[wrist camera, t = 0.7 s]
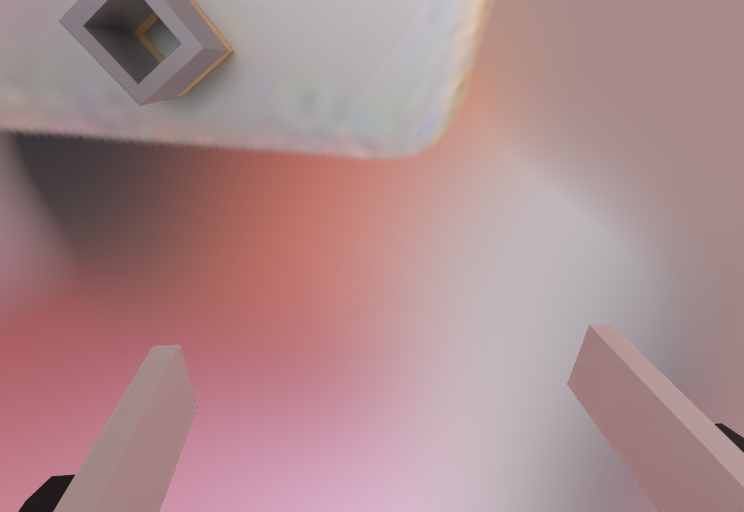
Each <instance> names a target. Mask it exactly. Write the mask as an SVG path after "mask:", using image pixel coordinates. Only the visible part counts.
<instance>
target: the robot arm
mask: <svg viewBox="0 0 744 512" xmlns="http://www.w3.org/2000/svg"><path fill="white" fill-rule="evenodd" d="M567 385H568V386H569V387H570V389H571V390H572V392H573V393H574V395H575V396H576V397H577V399H578V400H579V401H580V403H581V404H582V406H583V407H584V408H585V410H586V411H587V413H588V414H589V416H590V417H591V418H592V420H593V421H594V423H595V424H596V425H597V427H598V428H599V429H600V431H601V432H602V434H603V435H604V436H605V438H606V439H607V441H608V442H609V443H610V445H611V446H612V448H613V449H614V450H615V452H616V453H617V455H618V456H619V457H620V459H621V460H622V462H623V463H624V464H625V466H626V467H627V469H628V470H629V471H630V473H631V474H632V476H633V477H634V478H635V480H636V481H637V483H638V484H639V485H640V487H641V488H642V490H643V491H644V492H645V494H646V495H647V496H648V498H649V499H650V501H651V502H652V503H653V505H654V506H655V508H656V509H657V510H658V512H744V438H743V437H741V436H740V435H738V434H737V433H735V432H734V431H732V430H731V429H729V428H728V427H726V426H724V425H723V424H721V423H720V424H713V423H712V422H711V421H710V420H709V419H708V418H707V417H706V416H705V415H704V414H703V413H702V412H701V411H700V410H699V409H698V408H697V407H696V406H695V405H694V404H693V403H692V402H691V401H689V399H688V398H687V397H685V396H684V395H683V394H682V393H681V392H680V391H679V390H678V389H677V388H676V387H675V386H674V385H673V384H672V383H671V382H670V381H669V380H668V379H667V378H666V377H665V376H664V375H663V374H662V373H661V372H660V371H659V370H658V369H656V368H655V367H654V366H653V365H652V364H651V363H650V362H649V361H648V360H647V359H646V358H645V357H644V356H643V355H642V354H641V353H640V352H639V351H638V350H637V349H636V348H635V347H634V346H633V345H632V344H631V343H630V342H629V341H628V340H627V339H626V338H624V337H623V336H622V335H621V334H620V333H619V332H618V331H617V330H616V329H615V328H614V327H613V326H612V325H611V324H606V325H589V328H588V330H587V333H586V336H585V338H584V341H583V344H582V346H581V349H580V352H579V354H578V357H577V360H576V362H575V365H574V367H573V370H572V373H571V375H570V378H569V381H568V383H567ZM197 408H198V406H197V403H196V400H195V396H194V392H193V389H192V385H191V383H190V378H189V375H188V371H187V368H186V364H185V361H184V357H183V354H182V350H181V347H180V345H160V346H153V347H152V348H151V350H150V352H149V353H148V355H147V357H146V358H145V360H144V362H143V363H142V365H141V367H140V368H139V370H138V372H137V374H136V375H135V377H134V378H133V380H132V382H131V383H130V385H129V387H128V388H127V390H126V392H125V393H124V395H123V397H122V398H121V400H120V402H119V403H118V405H117V406H116V408H115V410H114V412H113V413H112V415H111V416H110V418H109V420H108V422H107V423H106V425H105V426H104V428H103V430H102V432H101V433H100V435H99V436H98V438H97V440H96V441H95V443H94V445H93V446H92V448H91V450H90V451H89V453H88V455H87V456H86V458H85V460H84V461H83V463H82V465H81V466H80V468H79V470H78V471H77V473H76V475H64V476H52V477H51V478H50V479H48V480H47V481H46V482H45V483H44V484H43V485H42V486H41V487H40V488H39V489H38V490H37V491H36V492H35V493H34V494H33V495H32V496H30V498H28V499H27V500H26V501H25V503H24V504H23V506H22V507H21V509H20V510H19V512H159V511H160V508H161V506H162V503H163V500H164V498H165V495H166V492H167V489H168V487H169V484H170V481H171V479H172V476H173V473H174V471H175V468H176V465H177V463H178V460H179V457H180V454H181V452H182V449H183V446H184V444H185V441H186V438H187V435H188V433H189V430H190V427H191V425H192V422H193V419H194V417H195V414H196V411H197Z"/></svg>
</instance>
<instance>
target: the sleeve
mask: <svg viewBox="0 0 744 512" xmlns="http://www.w3.org/2000/svg"><path fill="white" fill-rule="evenodd" d="M159 18H160V19H161V20H162V22H163V23H164V24H165V25H166V26H167V27H168V29H169V30H170V31H171V32H172V33H173V35H174V36H175V37H176V38H177V39H178V41H179V42H180V43H181V45H180V46H178V47H177V48H176V49H175V50H174V51H173V52H172V53H171V54H170V55H169V56H168V57H167V58H166V59H165V58H164V57H163V56H162V54H161V53H160V52H159V51H158V50H157V49H156V48H155V46H154V45H153V44H152V43H151V42H150V41H149V40H148V39H147V37H146V36H145V35H144V33H145V32H146V31H147V30H148V29H149V28H150V27H151V26H152V25H153V24H154V23H155V22H156V21H157V20H158V19H159ZM59 22H60V23H61V24H62V25H63V26H64V27H65V28H66V29H67V30H68V31H69V32H70V33H71V35H72V36H73V37H74V38H75V39H76V40H77V41H78V42H79V43H80V44H81V45H82V46H83V47H84V48H85V49H86V50H87V51H88V52H89V53H90V54H91V55H92V56H93V57H94V58H95V59H96V60H97V61H98V63H99V64H100V65H101V66H102V67H103V68H104V69H105V70H106V71H107V72H108V73H109V74H110V75H111V76H112V77H113V78H114V79H115V80H116V81H117V82H118V83H119V84H120V85H121V86H122V87H123V88H124V90H125V91H126V92H127V93H128V94H129V95H130V96H131V97H132V98H133V99H134V100H135V101H136V102H137V103H138V104H139V105H140V106H141V105H145V104H150V103H154V102H158V101H162V100H167V99H171V98H175V97H179V96H184V95H185V94H186V93H187V92H188V91H189V90H190V89H191V88H193V87H194V86H195V85H196V84H197V83H198V82H199V81H200V80H202V79H203V78H204V77H205V76H206V75H207V74H208V73H209V72H211V71H212V70H213V69H214V68H215V67H216V66H217V65H218V64H220V63H221V62H222V61H223V60H224V59H225V58H226V57H227V56H229V55H230V54H231V53H232V52H233V51H234V50H233V49H232V48H231V47H230V45H229V44H228V43H227V41H226V40H225V39H224V38H223V36H222V35H221V34H220V33H219V31H218V30H217V29H216V27H215V26H214V25H213V24H212V22H211V21H210V20H209V19H208V17H207V16H206V15H205V13H204V12H203V11H202V10H201V8H200V7H199V6H198V5H197V3H196V2H195V1H194V0H78V1H77V2H76V3H75V4H74V5H73V7H72V8H71V9H70V10H69V11H68V12H67V13H66V14H65V15H64V16H63V17H62V18H61V19H60V20H59Z"/></svg>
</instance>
